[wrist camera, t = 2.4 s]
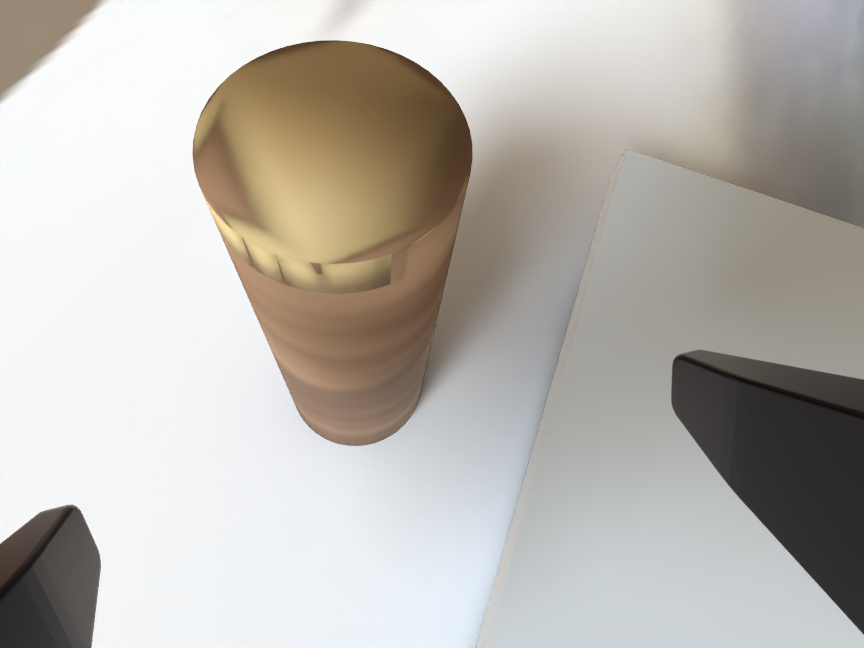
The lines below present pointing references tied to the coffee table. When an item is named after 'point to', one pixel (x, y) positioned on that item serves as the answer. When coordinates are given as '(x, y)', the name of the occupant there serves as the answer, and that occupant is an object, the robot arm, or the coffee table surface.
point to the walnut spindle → (339, 220)
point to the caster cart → (673, 426)
